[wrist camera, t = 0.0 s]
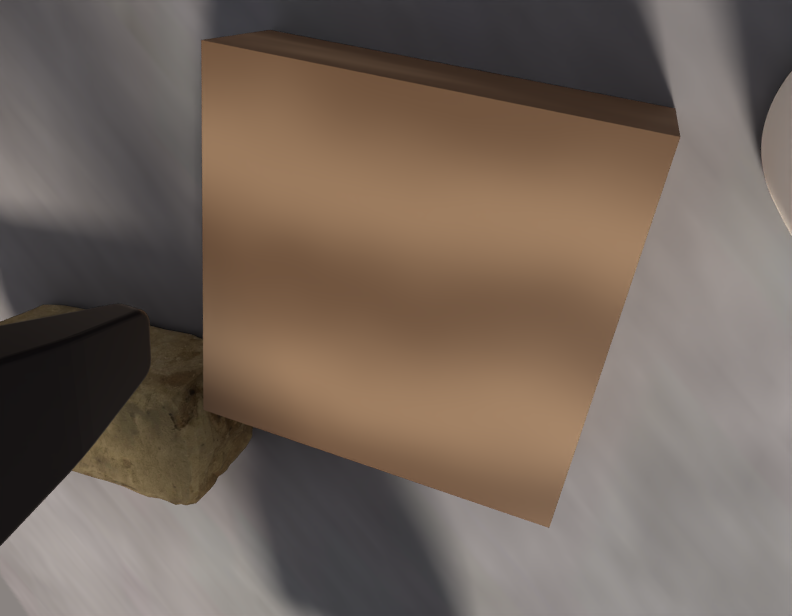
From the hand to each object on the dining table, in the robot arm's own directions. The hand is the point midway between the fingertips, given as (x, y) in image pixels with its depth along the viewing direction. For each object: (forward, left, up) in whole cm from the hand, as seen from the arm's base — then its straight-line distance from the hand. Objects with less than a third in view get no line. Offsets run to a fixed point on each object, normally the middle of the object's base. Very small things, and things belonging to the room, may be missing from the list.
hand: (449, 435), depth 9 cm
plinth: (-4, +4, -15) cm, 16 cm away
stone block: (-13, +16, -15) cm, 26 cm away
